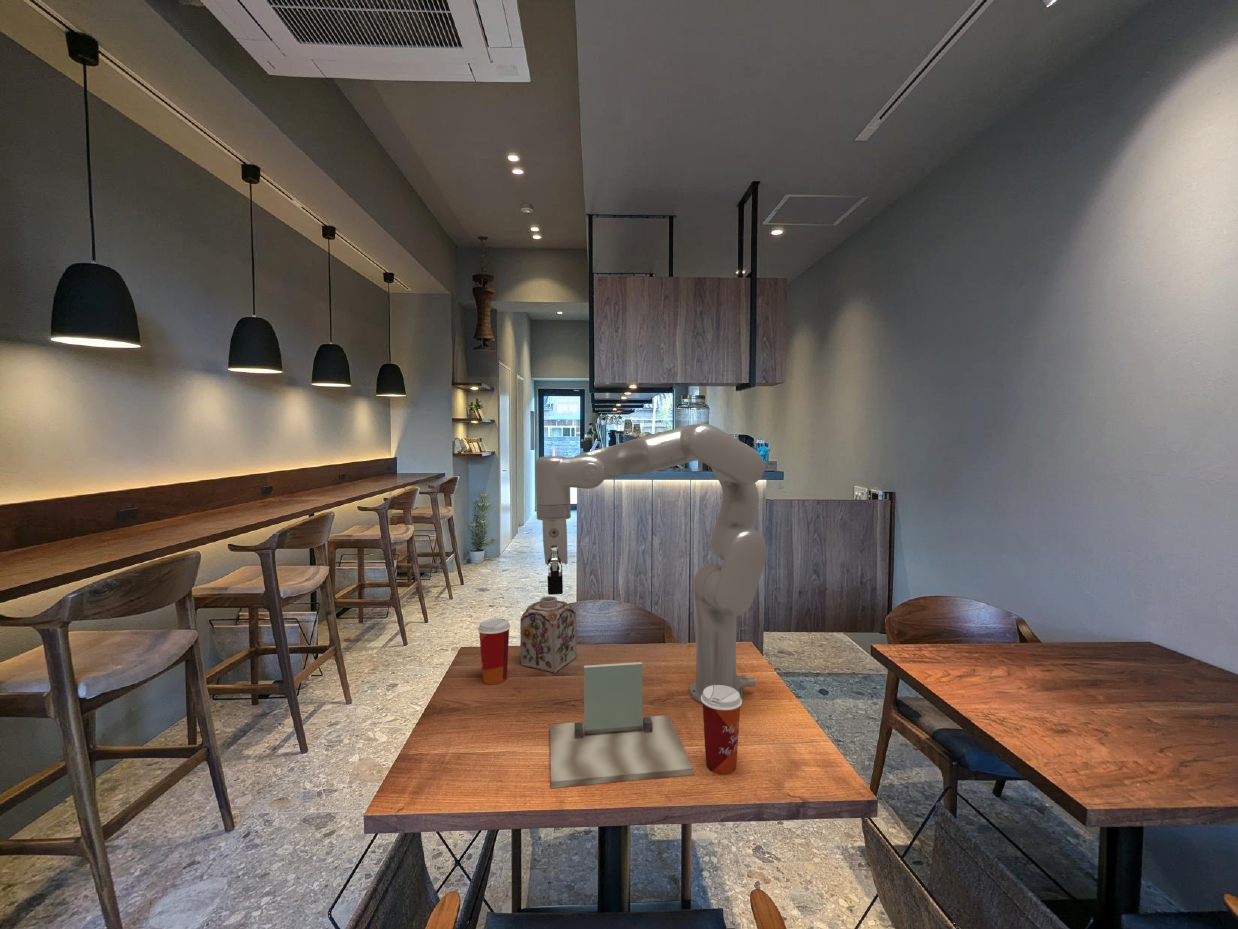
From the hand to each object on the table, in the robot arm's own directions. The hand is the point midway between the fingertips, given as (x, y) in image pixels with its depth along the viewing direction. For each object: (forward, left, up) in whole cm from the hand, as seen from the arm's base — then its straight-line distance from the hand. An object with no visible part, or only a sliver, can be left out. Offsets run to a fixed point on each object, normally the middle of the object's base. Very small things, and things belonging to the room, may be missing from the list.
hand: (555, 587), depth 117 cm
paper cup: (-30, +24, -29) cm, 48 cm away
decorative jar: (+2, -28, -29) cm, 41 cm away
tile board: (-11, +16, -29) cm, 35 cm away
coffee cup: (+16, -19, -29) cm, 38 cm away
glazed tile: (-11, +12, -27) cm, 31 cm away
